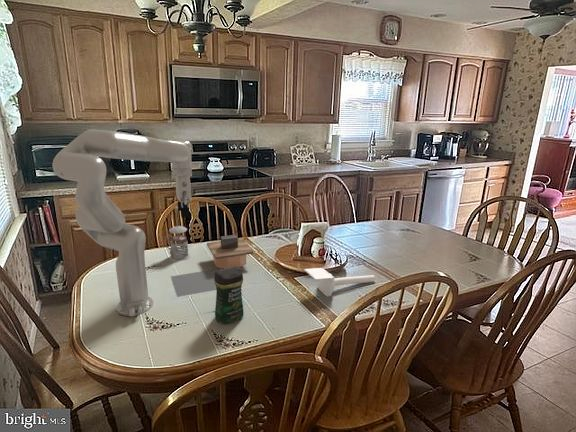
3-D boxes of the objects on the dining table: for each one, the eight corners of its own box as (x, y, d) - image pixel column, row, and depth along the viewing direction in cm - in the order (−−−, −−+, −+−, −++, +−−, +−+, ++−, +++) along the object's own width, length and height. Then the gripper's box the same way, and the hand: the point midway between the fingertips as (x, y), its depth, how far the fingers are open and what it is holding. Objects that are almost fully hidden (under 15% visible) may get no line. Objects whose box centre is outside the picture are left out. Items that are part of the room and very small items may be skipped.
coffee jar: (222, 327, 129) (221, 277, 123) (212, 316, 135) (210, 268, 129) (247, 318, 135) (246, 270, 129) (236, 308, 141) (235, 261, 135)
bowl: (249, 266, 173) (249, 252, 171) (218, 271, 168) (218, 257, 166) (240, 255, 185) (239, 241, 183) (211, 259, 180) (210, 245, 178)
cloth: (253, 253, 170) (253, 241, 169) (215, 259, 164) (215, 246, 162) (241, 240, 185) (241, 228, 183) (206, 245, 178) (206, 233, 177)
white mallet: (304, 268, 151) (368, 264, 166) (300, 289, 154) (364, 283, 168) (315, 279, 143) (382, 273, 158) (312, 300, 146) (378, 292, 160)
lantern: (193, 258, 181) (190, 207, 173) (169, 263, 175) (165, 211, 167) (186, 251, 189) (183, 202, 181) (162, 256, 182) (158, 206, 174)
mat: (223, 289, 153) (223, 288, 153) (177, 298, 146) (177, 296, 146) (213, 270, 169) (213, 269, 169) (170, 277, 162) (170, 276, 162)
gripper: (195, 175, 146) (196, 218, 150) (188, 168, 161) (189, 207, 166) (174, 176, 143) (176, 220, 148) (169, 168, 158) (171, 208, 163)
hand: (183, 213), depth 157 cm, fingers open, 9 cm apart
